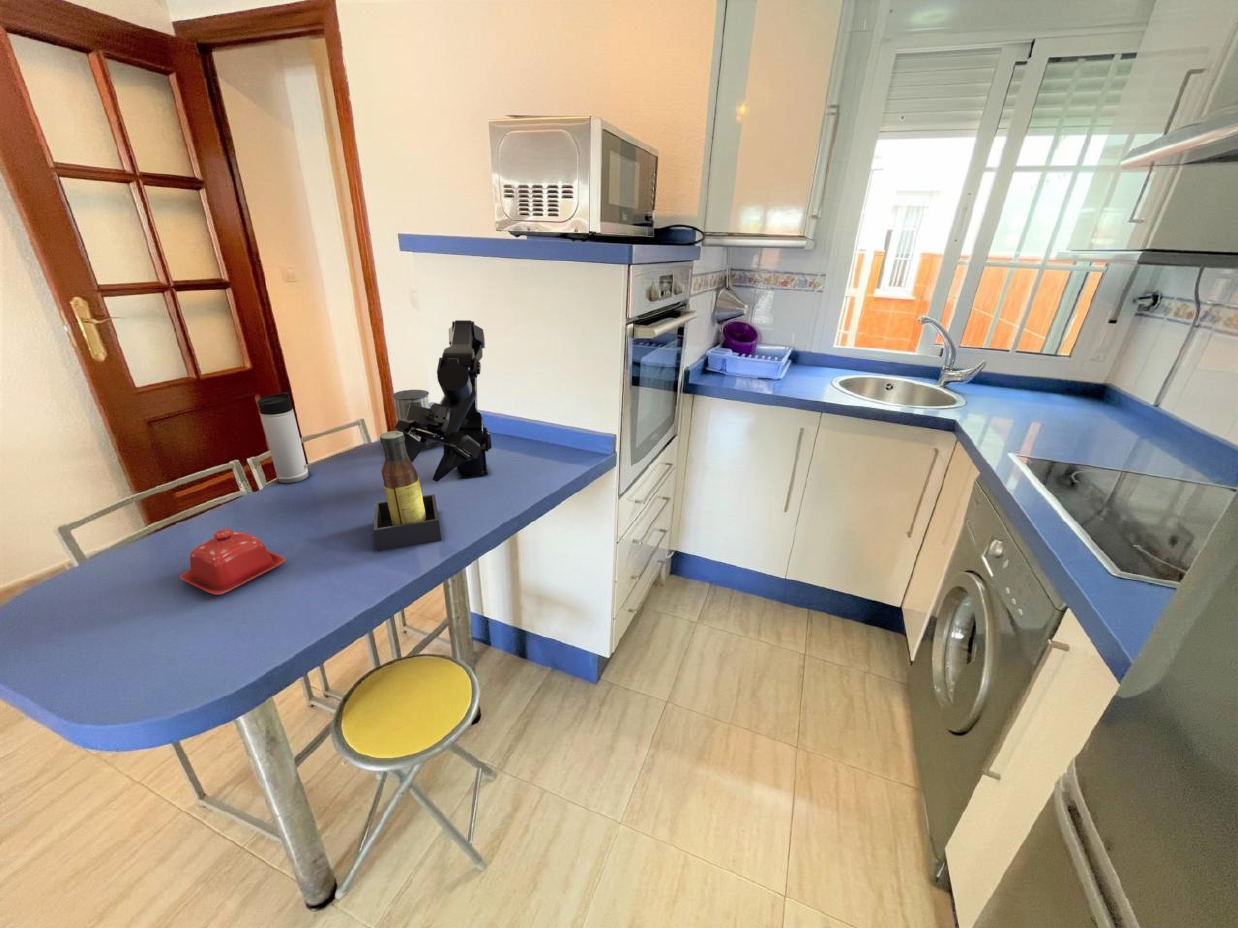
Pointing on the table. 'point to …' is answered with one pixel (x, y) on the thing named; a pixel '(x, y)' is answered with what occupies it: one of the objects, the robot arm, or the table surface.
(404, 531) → the bin
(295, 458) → the travel mug
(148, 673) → the table surface
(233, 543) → the butter dish
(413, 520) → the sauce bottle
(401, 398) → the milk frother
